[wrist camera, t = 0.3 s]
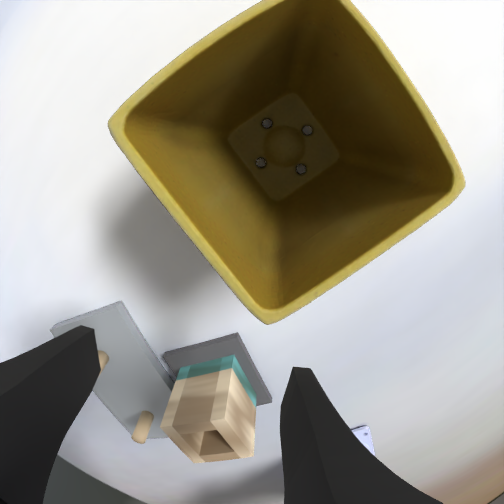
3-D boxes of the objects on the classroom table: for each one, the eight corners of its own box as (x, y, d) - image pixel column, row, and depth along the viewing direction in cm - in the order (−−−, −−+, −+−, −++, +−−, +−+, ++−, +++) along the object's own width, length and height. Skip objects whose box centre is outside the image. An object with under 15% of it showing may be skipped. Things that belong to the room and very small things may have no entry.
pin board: (206, 425, 25) (199, 459, 21) (138, 432, 26) (127, 461, 22) (121, 300, 20) (97, 330, 17) (55, 323, 22) (30, 349, 18)
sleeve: (256, 394, 22) (253, 456, 16) (206, 405, 23) (194, 463, 17) (233, 354, 21) (224, 418, 15) (180, 367, 21) (159, 427, 16)
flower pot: (175, 131, 17) (98, 123, 8) (296, 46, 15) (322, -32, 6) (265, 247, 19) (264, 331, 10) (382, 166, 17) (471, 189, 8)
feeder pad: (271, 397, 23) (271, 402, 22) (205, 410, 24) (204, 415, 23) (237, 332, 21) (237, 337, 20) (165, 352, 22) (163, 356, 21)
